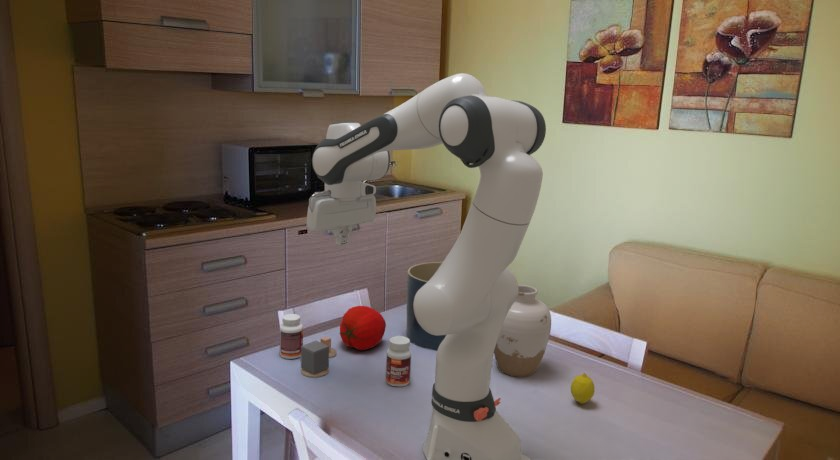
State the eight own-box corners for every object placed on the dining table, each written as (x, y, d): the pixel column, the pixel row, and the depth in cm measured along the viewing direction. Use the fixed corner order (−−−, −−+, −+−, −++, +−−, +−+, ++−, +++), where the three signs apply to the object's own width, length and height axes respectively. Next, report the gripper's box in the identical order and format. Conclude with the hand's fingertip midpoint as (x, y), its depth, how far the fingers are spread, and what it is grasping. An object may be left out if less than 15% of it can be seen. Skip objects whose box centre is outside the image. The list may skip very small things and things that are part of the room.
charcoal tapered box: (328, 367, 157) (328, 346, 156) (313, 373, 154) (313, 351, 152) (315, 361, 160) (316, 340, 159) (301, 367, 157) (301, 346, 155)
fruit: (564, 402, 148) (567, 371, 146) (578, 395, 151) (581, 365, 149) (583, 411, 143) (587, 380, 142) (597, 404, 147) (601, 374, 145)
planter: (440, 358, 168) (444, 289, 164) (389, 333, 184) (392, 269, 179) (493, 339, 183) (498, 275, 178) (441, 317, 199) (445, 258, 194)
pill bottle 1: (306, 356, 165) (306, 318, 163) (284, 361, 162) (284, 322, 159) (297, 348, 170) (297, 311, 168) (276, 352, 167) (276, 315, 164)
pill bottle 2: (389, 388, 150) (390, 346, 147) (383, 377, 156) (384, 336, 153) (412, 386, 152) (415, 344, 149) (406, 374, 158) (408, 334, 155)
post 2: (341, 353, 168) (341, 338, 167) (324, 360, 164) (324, 344, 162) (326, 347, 172) (326, 332, 171) (309, 353, 167) (310, 338, 166)
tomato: (371, 346, 181) (341, 362, 171) (353, 307, 182) (323, 321, 172) (400, 333, 174) (371, 349, 163) (381, 293, 175) (352, 306, 164)
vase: (483, 377, 158) (489, 294, 153) (491, 353, 173) (497, 276, 168) (545, 387, 155) (553, 302, 149) (547, 361, 170) (555, 283, 164)
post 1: (334, 371, 158) (334, 348, 156) (313, 380, 152) (313, 356, 151) (316, 362, 162) (316, 340, 160) (295, 371, 157) (295, 348, 155)
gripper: (318, 194, 138) (318, 253, 141) (380, 186, 153) (379, 239, 156) (300, 191, 142) (300, 248, 145) (363, 183, 157) (361, 235, 160)
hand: (341, 243), depth 151 cm, fingers closed
